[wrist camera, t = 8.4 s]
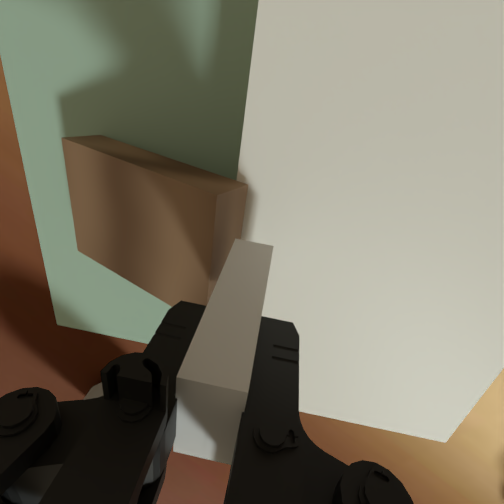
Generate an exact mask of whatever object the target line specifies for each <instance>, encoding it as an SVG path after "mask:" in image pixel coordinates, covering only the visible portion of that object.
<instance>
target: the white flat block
mask: <svg viewBox="0 0 504 504" xmlns="http://www.w3.org/2000/svg"><path fill="white" fill-rule="evenodd" d="M236 181H239V182H242V183H245V184H248V191H247V198H246V205H245V212H244V219H243V226H242V233H241V240H246V241H251V242H256V243H261V244H266V245H272V246H274V247H273V253H272V258H271V264H270V270H269V276H268V281H267V287H266V293H265V299H264V305H263V310H262V316H264V317H269V318H273V319H278V320H283V321H288V322H293V324H294V326H295V328H296V330H297V332H298V334H299V411H300V412H305V413H310V414H314V415H319V416H324V417H328V418H333V419H338V420H342V421H347V422H352V423H356V424H361V425H366V426H370V427H375V428H379V429H384V430H389V431H393V432H398V433H403V434H407V435H412V436H417V437H421V438H426V439H431V440H435V441H440V442H445V443H446V441H447V440H448V439H449V438H450V436H451V435H452V434H453V432H454V431H455V430H456V429H457V427H458V426H459V425H460V423H461V422H462V421H463V420H464V418H465V417H466V416H467V414H468V413H469V412H470V411H471V409H472V408H473V407H474V405H475V404H476V403H477V402H478V400H479V399H480V398H481V396H482V395H483V394H484V393H485V391H486V390H487V389H488V387H489V386H490V385H491V384H492V382H493V381H494V380H495V378H496V377H497V376H498V375H499V373H500V372H501V371H502V369H503V368H504V0H259V2H258V10H257V18H256V26H255V34H254V42H253V50H252V58H251V67H250V75H249V83H248V91H247V99H246V107H245V115H244V123H243V131H242V140H241V148H240V156H239V164H238V172H237V180H236Z"/></svg>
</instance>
